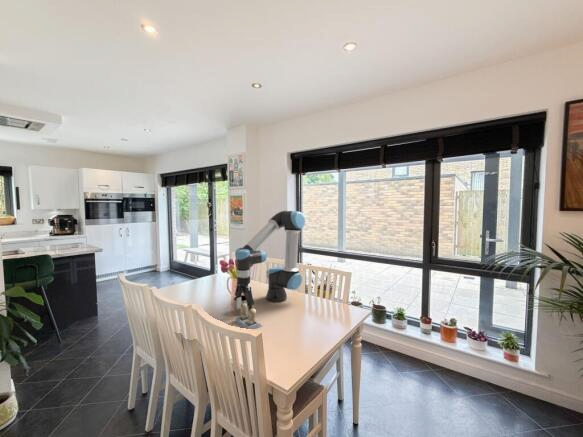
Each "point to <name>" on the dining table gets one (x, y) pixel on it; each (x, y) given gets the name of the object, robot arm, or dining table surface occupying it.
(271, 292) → the robot arm
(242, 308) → the peg
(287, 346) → the dining table surface
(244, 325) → the board
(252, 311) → the peg
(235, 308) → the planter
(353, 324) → the dining table surface
